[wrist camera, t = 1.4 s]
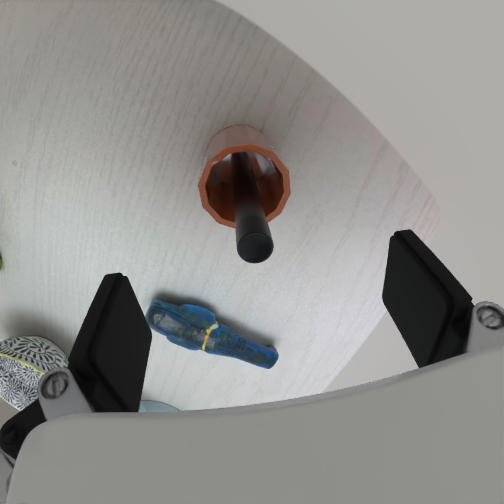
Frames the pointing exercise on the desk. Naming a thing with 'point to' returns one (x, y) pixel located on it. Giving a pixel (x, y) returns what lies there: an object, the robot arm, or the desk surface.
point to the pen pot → (220, 176)
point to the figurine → (206, 333)
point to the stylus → (249, 213)
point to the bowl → (26, 367)
